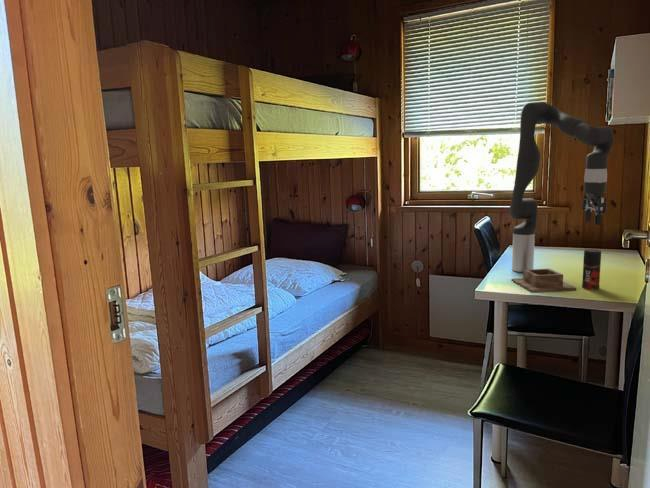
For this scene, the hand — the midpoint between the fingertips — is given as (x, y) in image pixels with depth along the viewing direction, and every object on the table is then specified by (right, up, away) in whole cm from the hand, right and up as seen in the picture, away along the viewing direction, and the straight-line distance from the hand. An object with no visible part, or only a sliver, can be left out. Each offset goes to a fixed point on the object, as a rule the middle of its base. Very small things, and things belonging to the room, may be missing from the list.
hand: (592, 223), depth 189 cm
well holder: (-14, -25, +12) cm, 31 cm away
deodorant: (+2, -26, +6) cm, 26 cm away
